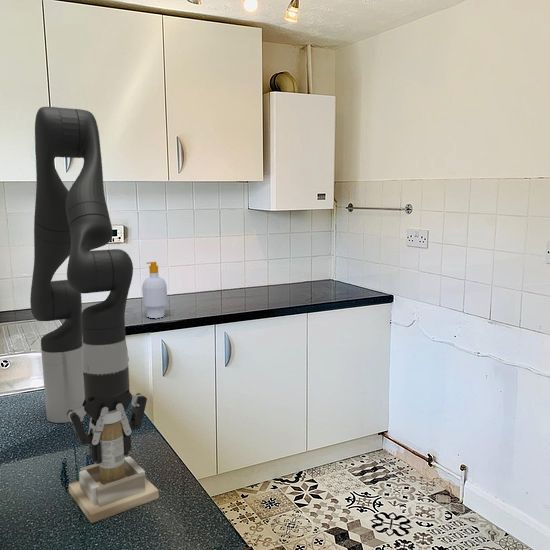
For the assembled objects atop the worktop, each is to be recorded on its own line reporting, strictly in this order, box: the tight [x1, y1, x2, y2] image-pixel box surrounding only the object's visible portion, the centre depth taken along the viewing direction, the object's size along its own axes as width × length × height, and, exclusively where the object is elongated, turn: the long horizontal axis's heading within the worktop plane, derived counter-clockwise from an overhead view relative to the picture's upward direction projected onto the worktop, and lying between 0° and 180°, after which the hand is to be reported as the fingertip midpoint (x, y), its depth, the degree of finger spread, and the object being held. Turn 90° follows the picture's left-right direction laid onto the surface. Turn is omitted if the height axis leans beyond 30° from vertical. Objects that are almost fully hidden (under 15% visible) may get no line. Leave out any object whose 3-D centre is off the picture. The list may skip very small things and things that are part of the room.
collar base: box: [67, 455, 160, 524], centre depth 97 cm, size 12×12×4 cm
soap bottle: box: [141, 261, 168, 318], centre depth 232 cm, size 10×10×24 cm
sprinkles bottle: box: [96, 410, 125, 485], centre depth 96 cm, size 5×5×13 cm
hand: (111, 457), depth 96 cm, fingers closed on sprinkles bottle, 4 cm apart
